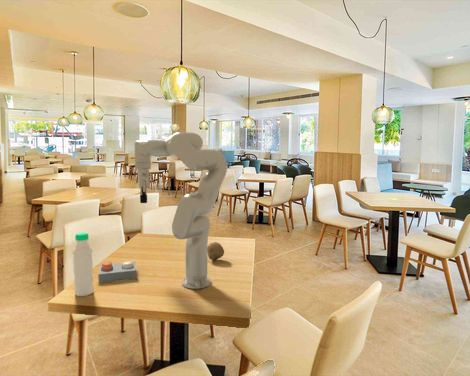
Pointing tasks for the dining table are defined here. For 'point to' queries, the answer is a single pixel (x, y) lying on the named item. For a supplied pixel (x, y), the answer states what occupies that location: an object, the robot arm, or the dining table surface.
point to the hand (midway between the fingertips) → (143, 202)
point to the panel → (117, 273)
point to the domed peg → (127, 265)
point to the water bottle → (83, 266)
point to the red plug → (106, 266)
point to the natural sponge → (215, 251)
